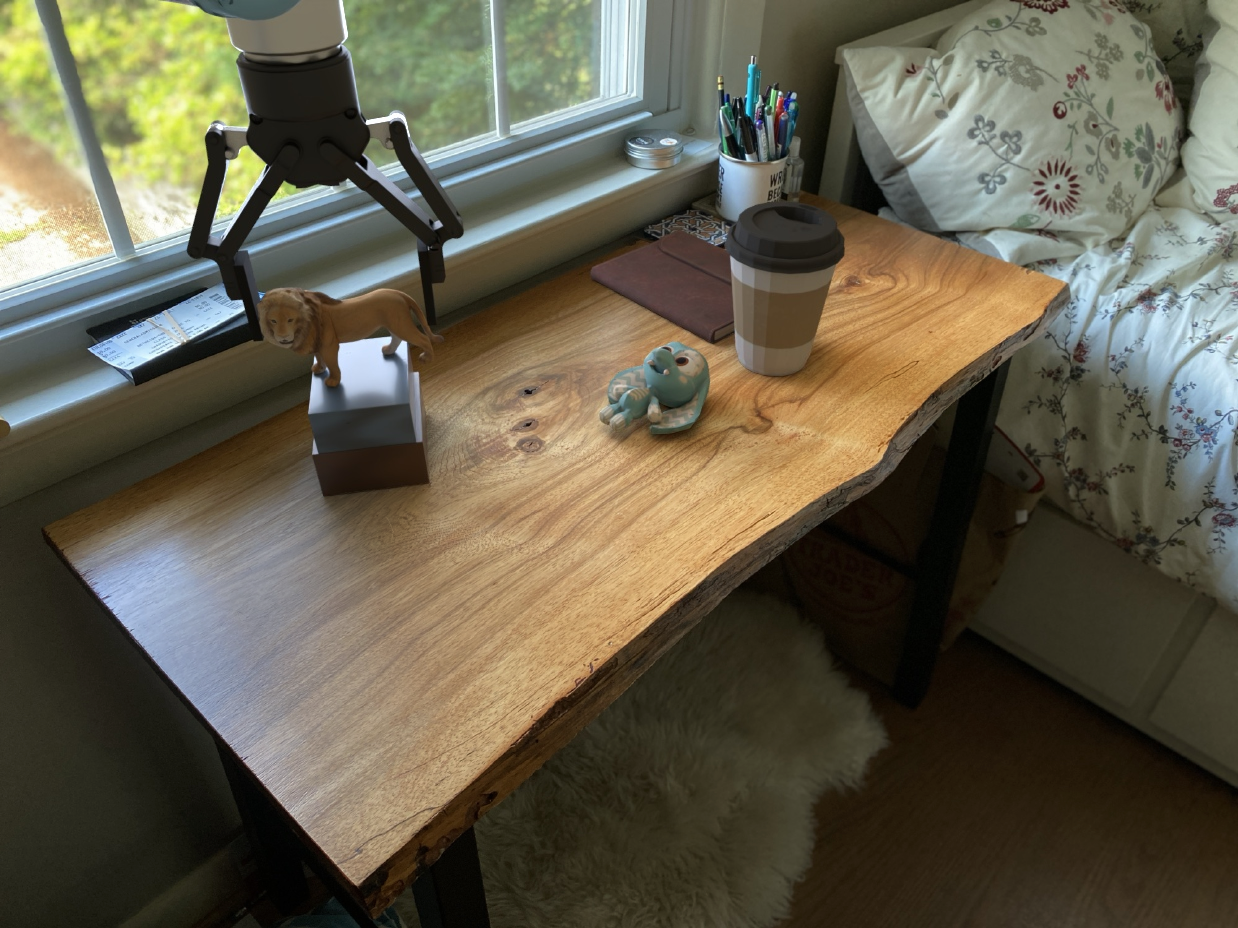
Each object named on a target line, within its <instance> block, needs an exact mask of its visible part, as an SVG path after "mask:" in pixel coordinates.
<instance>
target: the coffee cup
mask: <svg viewBox="0 0 1238 928" xmlns="http://www.w3.org/2000/svg"><path fill="white" fill-rule="evenodd" d="M845 242H846V241H845V236H844V235H843V233H842V231H840V229H838V222H837V220H836V218H834V216H833V215H832V214H830V213H829V212H827V211H826V210H825V209H822V208H819V207H818V206H815V205H812V204H807V203H803V202H797V201H767V202H762V203H757V204H755V205H751V206H750V207H749V206H748V207H747V208H745V209H744V210H743V211H742V212H741V213H740V214H739V215H738V218H737V221H735V222H734V223H733V224H732V225H730V226H729V228H728V231H727V234H726V239H725V243H724V248H725V250H727V252H728V254H729V255H730V259H731V276H732V293H733V310H734V327H735V333H734V343H735V351H736V353H737V358H738V361H739V363H740V364H741V365H742V366H743V367H744V368H745V369H746V370H748V371H750V372H752V373H755V374H759V375H761V376H766V377H767V376H768V377H784V376H790V375H792V374H793V375H794V374H796V373H798V372H799V371H801V370H803V368H804V367H805V365H807V360H808V359H809V358H810V356H811V353H812V349H813V345H814V342H815V339H816V336H817V331H818V328H819V325H820V322H821V318H822V315H823V311H824V307H825V305H826V301H827V298H828V293H829V292H830V291H829V290H830V287H831V284H832V281H833V277H834V274H835V270H836V267H837V264H839V262H841V260H842V259H843V258H845V252H846V251H845V250H846V247H845Z"/></svg>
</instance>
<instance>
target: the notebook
mask: <svg viewBox="0 0 1238 928" xmlns="http://www.w3.org/2000/svg"><path fill="white" fill-rule="evenodd" d="M590 277H591V279H592V280H593V281H595V282H597V283H599V284H601V285H603V286H605V287H606V288H609V289H610V290H612V291H614V292H616V293H618V294H619V295H621V296H623V297H625V298H627V299H629V300H631V301H632V302H634V303H637V304H638V305H640V306H641V307H644V308H645V309H647V310H650V311H651V312H652V313H655V314H657V315H659V316H661V317H662V318H664V319H666V320H668V321H669V322H672V323H674V324H675V325H677V326H679V327H681V328H683V329H684V330H686V331H689V332H690V333H692V334H694V335H696V336H698V337H699V338H701V339H703V340H705V341H707V342H709V343H711V344H716V343H718V342H720V341H721V340H724V339H725V338H728V337H730V336H731V335H735V327H734V310H733V293H732V276H731V259H730V255H729V254H728V252H727V250H726V249H724V248H722V247H720V246H717V245H716V244H713V243H711V242H709V241H707V240H705V239H703V238H700V237H698V236H695V235H694V234H691V233H689V232H687V231H684V230H682V229H678V230H677V229H676V230H675V231H673V232H670V233H668V234H667V233H666V234H665V235H663V236H661V237H660V238H659V239H658V240H655V241H652V242H649V243H648V244H645V245H642V246H640V247H638V248H635V249H633V250H631V251H628V252H625V253H623V254H620V255H618V256H616V257H613V258H610V259H608V260H606V261H603V262H601V263H598V264H596V265H594V266H591V269H590Z"/></svg>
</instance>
